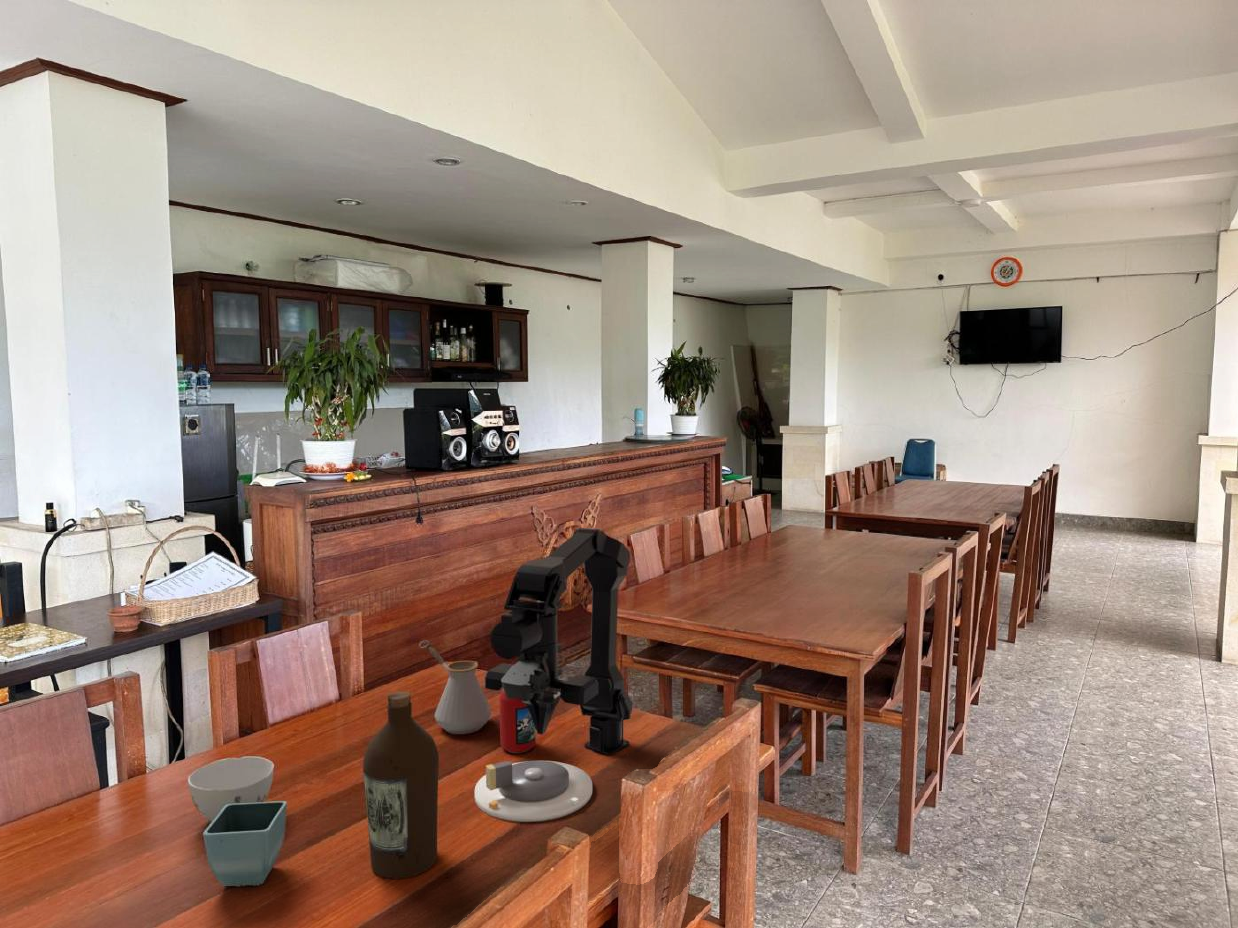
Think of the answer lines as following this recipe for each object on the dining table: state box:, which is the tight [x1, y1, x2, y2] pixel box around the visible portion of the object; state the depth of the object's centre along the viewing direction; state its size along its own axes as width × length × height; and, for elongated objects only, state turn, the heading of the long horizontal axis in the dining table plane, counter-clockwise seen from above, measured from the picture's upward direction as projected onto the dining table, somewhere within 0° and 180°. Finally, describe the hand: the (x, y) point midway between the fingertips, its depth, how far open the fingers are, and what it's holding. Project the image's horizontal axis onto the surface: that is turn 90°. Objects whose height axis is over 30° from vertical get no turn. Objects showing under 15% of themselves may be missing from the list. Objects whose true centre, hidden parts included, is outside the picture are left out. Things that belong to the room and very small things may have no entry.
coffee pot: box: [418, 639, 493, 735], centre depth 176 cm, size 21×12×15 cm, turn 43°
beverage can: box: [499, 688, 537, 754], centre depth 162 cm, size 7×7×12 cm
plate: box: [474, 760, 593, 823], centre depth 144 cm, size 20×20×2 cm
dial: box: [485, 760, 569, 802], centre depth 144 cm, size 14×12×5 cm
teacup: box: [187, 755, 275, 823], centre depth 137 cm, size 15×12×8 cm
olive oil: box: [362, 691, 440, 880], centre depth 123 cm, size 11×11×25 cm
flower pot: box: [202, 800, 288, 887], centre depth 120 cm, size 9×9×9 cm
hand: (541, 733), depth 139 cm, fingers closed
